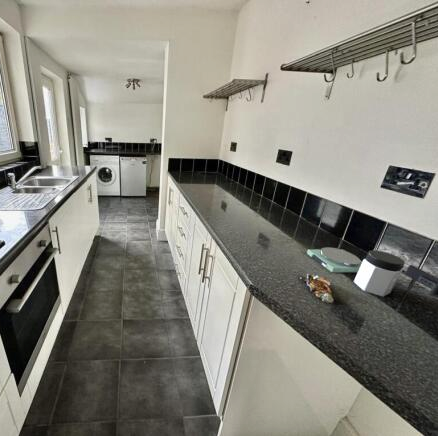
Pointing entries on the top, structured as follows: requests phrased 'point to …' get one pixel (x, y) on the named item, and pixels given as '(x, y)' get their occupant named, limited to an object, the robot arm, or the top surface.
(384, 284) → the jar
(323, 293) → the pastry
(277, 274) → the top surface
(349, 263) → the weighing pan
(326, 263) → the kitchen scale
